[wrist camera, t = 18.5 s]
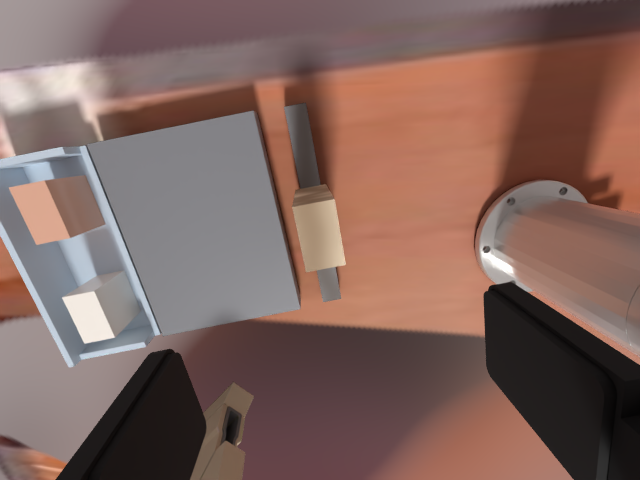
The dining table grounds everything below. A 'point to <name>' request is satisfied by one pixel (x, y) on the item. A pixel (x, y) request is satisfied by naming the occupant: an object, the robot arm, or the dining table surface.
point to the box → (70, 254)
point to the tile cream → (102, 306)
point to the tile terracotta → (58, 208)
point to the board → (201, 221)
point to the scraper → (314, 208)
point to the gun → (223, 437)
